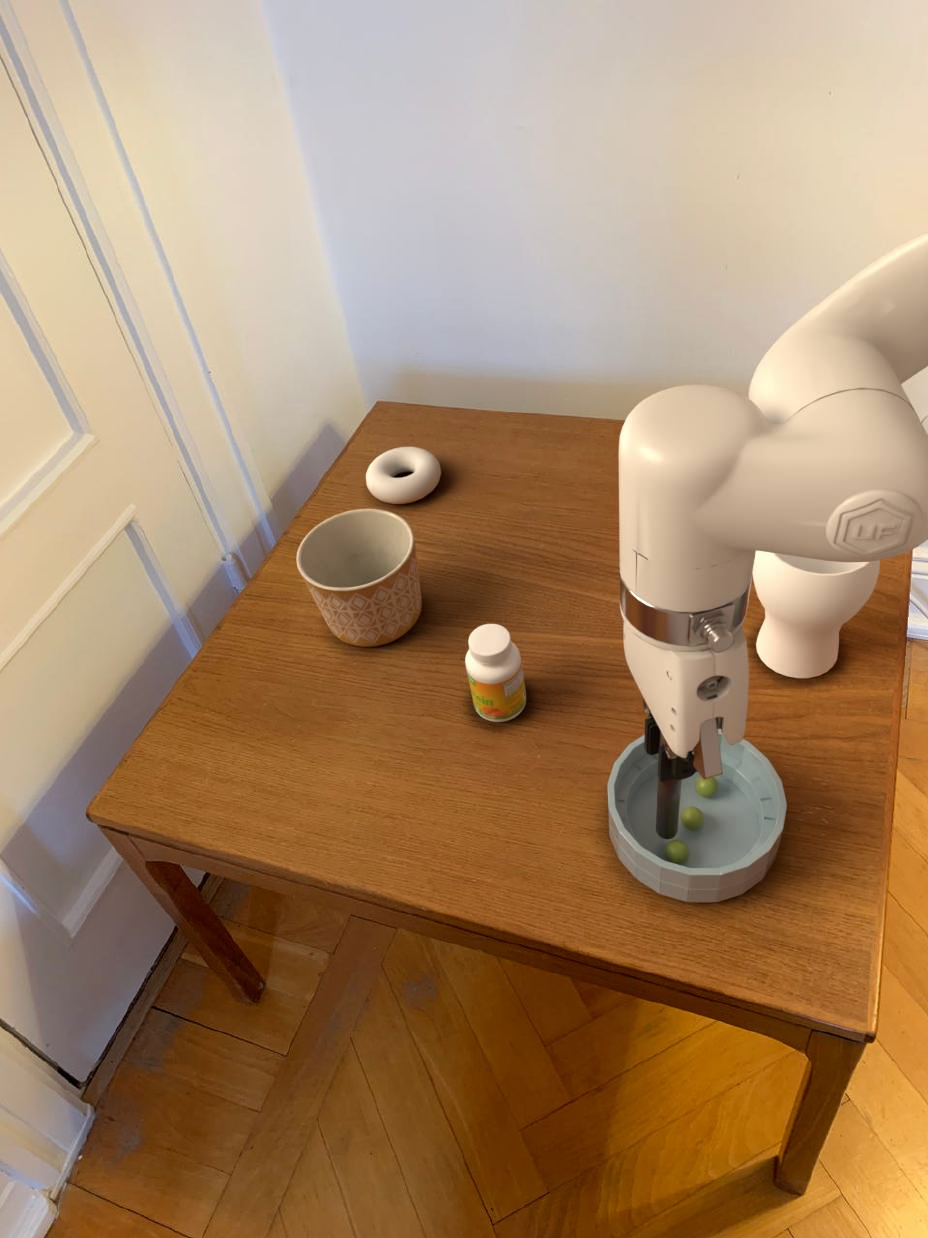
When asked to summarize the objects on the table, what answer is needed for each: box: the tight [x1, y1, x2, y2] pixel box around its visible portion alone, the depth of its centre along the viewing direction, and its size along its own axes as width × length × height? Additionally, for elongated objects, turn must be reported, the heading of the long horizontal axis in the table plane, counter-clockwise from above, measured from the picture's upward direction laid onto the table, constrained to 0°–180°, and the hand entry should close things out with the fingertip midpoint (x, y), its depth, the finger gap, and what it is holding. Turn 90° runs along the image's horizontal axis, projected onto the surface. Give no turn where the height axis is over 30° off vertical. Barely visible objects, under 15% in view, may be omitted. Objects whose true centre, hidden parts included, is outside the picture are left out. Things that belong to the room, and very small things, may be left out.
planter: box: [295, 508, 423, 648], centre depth 94 cm, size 13×13×10 cm
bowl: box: [606, 729, 788, 903], centre depth 73 cm, size 14×14×6 cm
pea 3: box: [695, 776, 719, 798], centre depth 75 cm, size 2×2×2 cm
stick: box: [656, 730, 682, 840], centre depth 67 cm, size 2×2×17 cm
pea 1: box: [665, 840, 689, 865], centre depth 72 cm, size 2×2×2 cm
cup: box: [752, 551, 881, 679], centre depth 81 cm, size 11×11×15 cm
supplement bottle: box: [464, 623, 527, 723], centre depth 83 cm, size 5×5×10 cm
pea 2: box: [680, 806, 704, 830], centre depth 74 cm, size 2×2×2 cm
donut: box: [365, 446, 442, 505], centre depth 112 cm, size 10×4×10 cm
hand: (672, 759), depth 64 cm, fingers closed on stick, 1 cm apart
